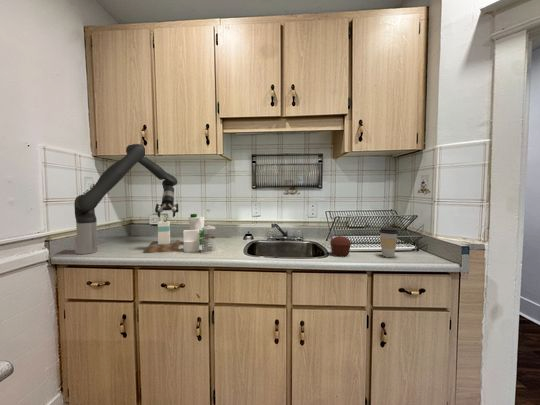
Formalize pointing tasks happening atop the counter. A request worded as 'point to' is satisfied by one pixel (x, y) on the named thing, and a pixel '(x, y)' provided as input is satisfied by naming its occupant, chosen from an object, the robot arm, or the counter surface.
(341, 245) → the muffin
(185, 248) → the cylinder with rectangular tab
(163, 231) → the cream carton
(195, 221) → the milk carton
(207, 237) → the french press
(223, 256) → the counter surface
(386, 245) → the coffee cup
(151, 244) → the brown shallow square tray
